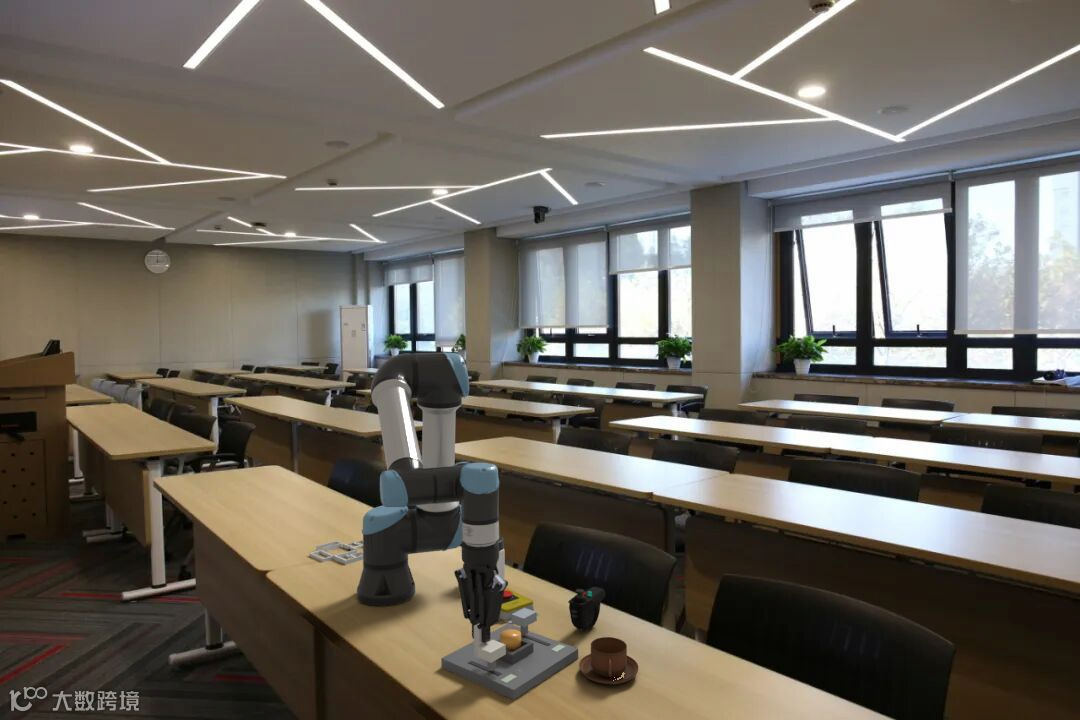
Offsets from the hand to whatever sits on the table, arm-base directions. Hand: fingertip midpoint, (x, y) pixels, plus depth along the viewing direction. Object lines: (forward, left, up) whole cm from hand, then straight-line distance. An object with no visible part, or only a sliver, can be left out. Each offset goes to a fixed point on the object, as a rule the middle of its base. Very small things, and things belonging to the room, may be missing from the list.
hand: (481, 655), depth 138 cm
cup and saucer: (+20, +17, -5) cm, 26 cm away
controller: (+4, +32, -5) cm, 32 cm away
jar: (-34, +39, -5) cm, 52 cm away
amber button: (+1, +8, -1) cm, 8 cm away
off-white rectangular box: (+3, 0, -2) cm, 4 cm away
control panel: (+1, +8, -4) cm, 9 cm away
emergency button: (-18, +28, -5) cm, 33 cm away
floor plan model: (-86, +26, -5) cm, 90 cm away
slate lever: (-2, +16, -2) cm, 16 cm away
